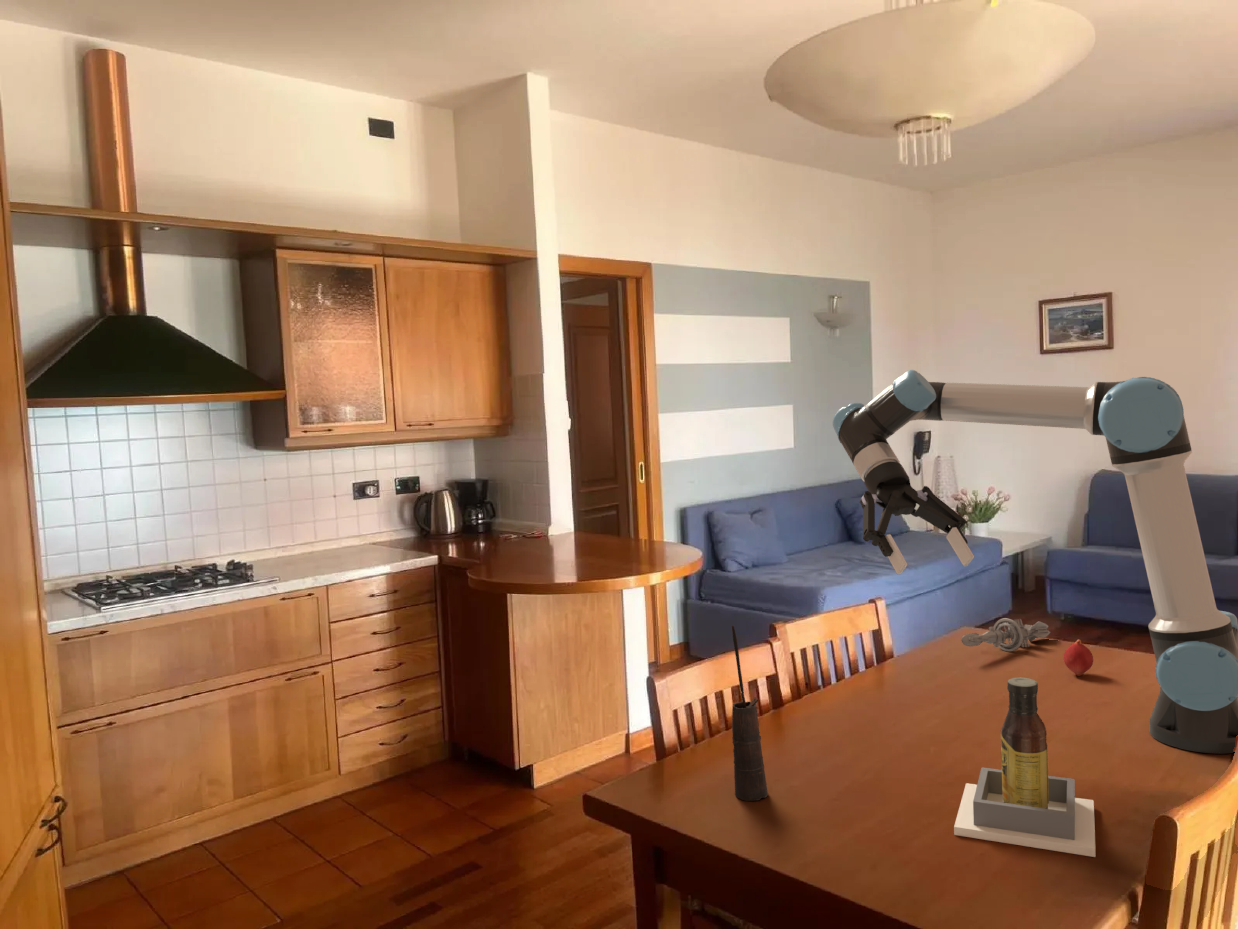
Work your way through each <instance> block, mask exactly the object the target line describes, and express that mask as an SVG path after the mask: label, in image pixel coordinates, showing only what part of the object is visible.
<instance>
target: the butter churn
mask: <svg viewBox="0 0 1238 929" xmlns="http://www.w3.org/2000/svg"><path fill="white" fill-rule="evenodd" d="M731 631H732V633H731V634H732V642H733V647H734V653H735V660H736V661H735V662H736V668H737V675H738V684H739V690H740V696H741V701H739V702H736V703H734V702H733V703H732V708H731V709H732V710H731V711H732V712H731V714H732V715H731V716H732V718H731V720H732V722H731V723H732V724H731V729H732V739H731V740H732V745H733V749H732V752H733V770H734V772H733V774H734V795H735V797H736V798H738V799H740V800H741V801H746V802H748V801H749V802H750V801H760V800H761V799H763V798H766V797H767V796H768V795H769V791H768V784H767V779H766V772H765V765H764V759H763V758H764V756H763V751H762V742H761V739H762V736H761V735H760V733H761V732H760V724H759V718H758V708H757V703H758V701H759V698H752V700H751V701H746V697H745V689H744V683H743V674H742V669H741V663H740V653H739V646H738V638H737V634H736V630H735V625H734V624H732V625H731Z"/></svg>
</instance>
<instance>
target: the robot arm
mask: <svg viewBox="0 0 1238 929" xmlns="http://www.w3.org/2000/svg"><path fill="white" fill-rule="evenodd" d="M917 420H918V421H921V420H923V421H944V422H945V421H946V422H963V423H977V424H978V423H979V424H981V423H982V424H994V425H996V424H997V425H998V424H999V425H1013V426H1030V427H1032V426H1033V427H1047V428H1063V429H1064V428H1065V429H1079V430H1086V431H1087V433H1089V434H1090V436H1104V437H1105V442H1106V446H1107V449H1108V454H1109V458H1110V464H1111V467H1113V468H1115V469H1116V470H1118V471H1119V472H1121V473H1122V474H1123V476H1124V478H1125V482H1126V486H1127V488H1126V489H1127V491H1128V495H1129V500H1130V503H1131V504H1130V505H1131V509H1132V513H1133V518H1134V523H1135V526H1136V530H1137V536H1138V541H1139V543H1140V549H1141V553H1142V558H1143V563H1144V567H1145V570H1146V575H1147V580H1148V584H1149V588H1150V593H1151V597H1152V602H1153V605H1154V611H1155V616H1154V617H1153V618H1152V619H1151V621H1150V622H1149V623H1148V631H1149V635H1150V639H1151V644H1152V650H1153V652H1154V653H1153V654H1154V657H1155V663H1156V664H1155V671H1154V672H1155V678H1156V680H1157V683H1158V684H1159V686H1160V687H1159V688H1160V690H1159V694H1158V696H1157V698H1156V701H1155V705H1154V707H1153V708H1152V709H1153V710H1152V712H1151V715H1150V717H1149V721H1148V722H1149V724H1148V725H1149V734H1150V736H1151V737H1152V738H1154V739H1155V740H1156V741H1158V742H1160V743H1163V744H1165V745H1168V746H1170V747H1174V748H1176V749H1177V748H1178V749H1180V750H1185V751H1189V752H1196V753H1197V752H1198V753H1204V754H1218V755H1219V754H1220V755H1221V754H1223V755H1225V754H1234V753H1233V749H1234V747H1235V739H1236V736H1237V735H1238V618H1237V616H1236V615H1235V614H1234V613H1232V612H1229V611H1225V610H1224V611H1223V610H1219V609H1218V608H1217V604H1216V600H1215V595H1214V591H1213V588H1212V582H1211V578H1210V574H1209V569H1208V565H1207V561H1206V555H1205V552H1204V547H1203V543H1202V540H1201V534H1200V529H1199V525H1198V522H1197V516H1196V512H1195V508H1194V504H1193V499H1192V495H1191V491H1190V486H1189V482H1188V479H1187V478H1188V477H1187V472H1186V469H1185V462H1186V460H1187V459H1188V458H1189V457H1190V455H1191V454H1192V453H1193V450H1192V447H1191V446H1192V445H1191V441H1190V436H1189V432H1188V427H1187V424H1186V419H1185V415H1184V404H1183V402H1182V399H1181V397H1180V395H1179V394H1178V392H1177V391H1176V390H1175V388H1174V387H1172V386H1171V385H1170V384H1168V383H1166V382H1165V381H1163V380H1160V379H1158V378H1154V377H1147V376H1139V377H1132V378H1129V379H1126V380H1122V381H1106V382H1105V381H1095V382H1094V383H1093V384H1092V385H1090V386H1065V385H1064V386H1063V385H1062V386H1061V385H1060V386H1059V385H1038V384H1037V385H1035V384H1034V385H1030V384H1008V383H1007V384H1005V383H1004V384H1003V383H999V384H997V383H972V382H971V383H970V382H968V383H967V382H941V381H928V379H926V378H925V377H924V376H923V375H922V374H921V373H920V372H918V371H917V370H914V369H909V370H907V371H905V372H904V373H902V375H900V376H899V377H896V378H895V379H894V380H893V382H892V383H890V384H889V385H888V386H887V387H885V388H884V389H883V390H882V391H881V392H880V393H878V394H877V395H876V396H875V397H874V398H873V399H872V400H870V401H869V402H868V403H867V404H863V403H861V402H851V403H849V404H848V405H847V406H842V407H841V408H839V409H838V411H837V412H836V413H835V415H834V416H833V419H832V428H833V429H834V431H835V433H836V436H837V439H838V441H839V443H840V444H841V446H842V447H843V448H844V450H845V453H847V456H848V458H849V460H851V462H852V464H853V466H854V468H855V469H856V472H857V473H858V476H860V479H861V480H862V482H864V486H865V487H866V489H867V490H865V492H864V493H863V495H862V497H861V498H860V500H859V503H860V506H861V508H862V540H863V541H864V542H869V541H871V545H873V546H874V547H878V548H879V549H880V551H881V553H882V555H883V556H884V557H885V558H888V560H889V562H890V564H891V565H892V567H893V569H894V571H895V573H896V574H897V575H902V573H903V572H904V570H906V568H907V566H908V563H907V561H906V559H905V557H904V555H903V554H902V552H901V550H900V548H899V546H898V544H897V542H895V539H894V538H893V536H892V535H891V534H886V533H887V530H888V527H889V524H890V521H891V518H892V515H894V516H895V517H898V516H901V515H906V516H908V515H912V516H913V517H915V518H918V517H919V518H920V519H922V520H924V521H925V522H927V523H928V524H931V525H932V526H934V527H936V528H937V529H939V530H941V531H942V532H944V533H946V534H947V535H946V536H945V538H946V540H947V541H948V543H949V544H950V546H951V548H952V549H953V551H954V553H955V554H956V556H957V558H958V559H959V561H960V563H961V564H962V566H963V567H968V566H969V565H970V564H971V562H972V561H973V560H974V558H975V555H974V554H973V552H972V550H971V548H970V547H969V546H968V540H967V538H966V537H965V534H963V532H962V530H963V527H964V526H965V525H966V523H967V519H965V518H964V517H963V516H961V515H960V514H959V513H957V511H955V510H954V509H952V507H950V506H949V505H947V503H945V502H944V501H943V500H941V498H939V497H938V496H936V495H935V493H933V491H932V490H931V488H930V487H929V486H927V485H924V486H922V489H917V490H916V489H915V488H913V487H912V485H911V481H910V480H911V479H910V477H909V475H908V473H907V472H906V470H905V469H904V467H903V465H902V464H901V461H900V460H899V458H898V456H897V455H896V453H895V452H894V450H893V449H892V447H891V445H890V444H889V442H888V438H890V437H892V436H894V434H896V432H898V431H899V430H900V429H901V428H903V427H904V426H906V425H907V424H908V423H909V422H912V421H917ZM876 505H877V506H879V507H880V508H882V512H881V514H880V519H879V522H878V525H877V528H876V522H875V521H876V512H875V510H876V509H875V508H876ZM917 505H918V507H917ZM916 507H917V508H916Z"/></svg>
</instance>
